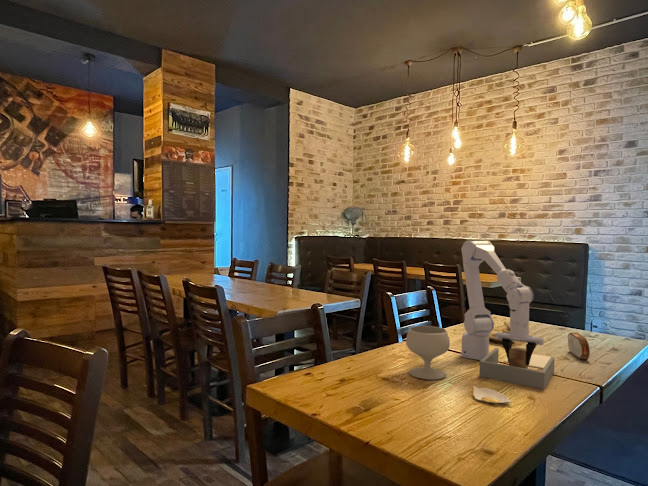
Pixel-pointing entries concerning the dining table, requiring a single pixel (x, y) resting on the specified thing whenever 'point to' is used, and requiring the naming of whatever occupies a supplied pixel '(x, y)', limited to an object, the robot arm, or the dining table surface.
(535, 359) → the mat
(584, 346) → the tin
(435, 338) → the chalice
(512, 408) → the dining table surface
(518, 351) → the walnut block
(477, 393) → the pale veined leaf
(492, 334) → the tableware set
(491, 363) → the open box
